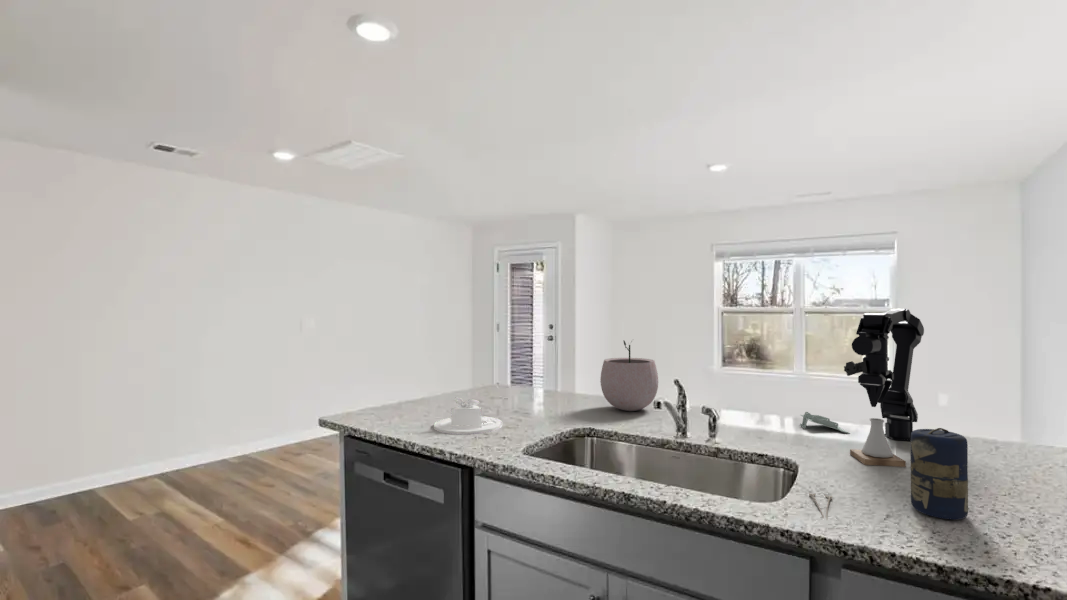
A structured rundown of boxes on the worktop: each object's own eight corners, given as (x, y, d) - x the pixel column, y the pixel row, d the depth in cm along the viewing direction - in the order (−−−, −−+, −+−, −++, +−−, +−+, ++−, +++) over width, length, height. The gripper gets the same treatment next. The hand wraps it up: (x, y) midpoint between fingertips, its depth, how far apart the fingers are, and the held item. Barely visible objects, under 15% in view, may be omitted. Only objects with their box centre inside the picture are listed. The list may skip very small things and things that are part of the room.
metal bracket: (812, 416, 177) (797, 407, 192) (806, 432, 177) (792, 422, 192) (855, 429, 175) (837, 419, 190) (850, 446, 175) (832, 435, 190)
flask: (879, 450, 150) (879, 416, 150) (899, 458, 142) (898, 421, 142) (856, 451, 149) (855, 416, 149) (874, 459, 142) (874, 422, 142)
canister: (899, 505, 113) (898, 423, 113) (940, 504, 114) (939, 422, 114) (937, 524, 103) (936, 434, 104) (981, 522, 104) (980, 432, 104)
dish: (499, 435, 177) (499, 402, 177) (426, 435, 178) (426, 402, 178) (504, 419, 202) (504, 390, 202) (440, 419, 202) (440, 390, 202)
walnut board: (888, 456, 149) (888, 450, 149) (905, 466, 140) (905, 461, 140) (850, 454, 151) (850, 449, 151) (864, 464, 142) (864, 459, 142)
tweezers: (808, 496, 120) (808, 488, 120) (832, 500, 118) (832, 491, 118) (813, 532, 104) (813, 522, 104) (840, 536, 102) (840, 527, 102)
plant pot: (654, 404, 228) (654, 336, 228) (662, 416, 204) (662, 340, 204) (599, 403, 230) (599, 336, 230) (601, 415, 206) (601, 340, 207)
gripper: (853, 350, 171) (853, 398, 171) (838, 354, 158) (839, 405, 157) (894, 352, 163) (894, 402, 163) (882, 356, 150) (882, 410, 150)
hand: (876, 404), depth 159 cm, fingers open, 9 cm apart
